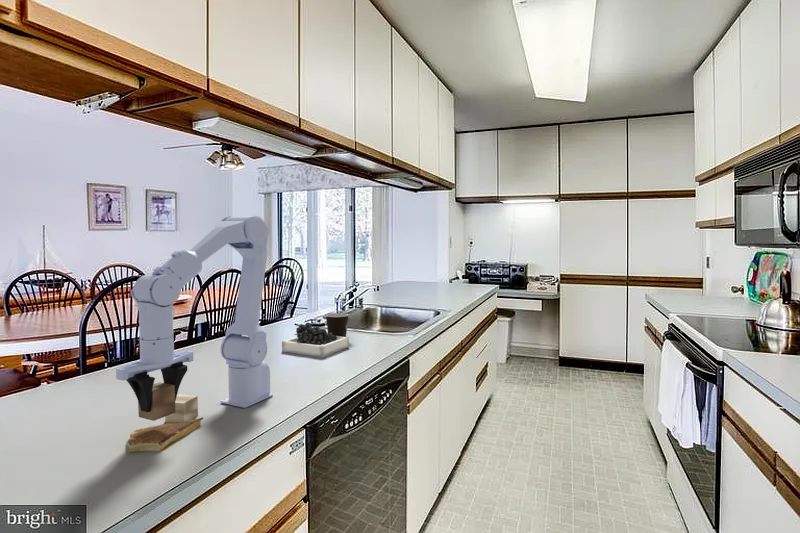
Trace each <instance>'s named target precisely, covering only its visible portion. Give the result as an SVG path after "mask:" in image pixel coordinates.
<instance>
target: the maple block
mask: <svg viewBox="0 0 800 533" xmlns="http://www.w3.org/2000/svg"><path fill="white" fill-rule="evenodd" d="M198 404H199V398H198V395H191V394H177V397H176V401H175V411H176V413H173V414H171V415H168V416H165V417H164V419H165V420H164V422H165V423H168V424H169V423H175V422H183V421H188V420H193V419H196V417H198V416H199V405H198Z"/></svg>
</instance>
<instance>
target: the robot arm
mask: <svg viewBox="0 0 800 533" xmlns="http://www.w3.org/2000/svg"><path fill="white" fill-rule="evenodd" d="M269 229H270V228H269V227H268V225H267V224H266V222H265V221H264V219H263V218H262V217H261V216H258V215H251V216H230V215H229V216H225V217H223V218H222V219H221V220H219V221H217V222H216V223H215V226H214V228H213V229H212V230H211V231H209V232H208V233H207V234H206V235H205V236H204V237H203V238H202V239H201V240H199V242H198V243H196V244H195V245H194V246H193V247H192V248H191V249H190V250H185V249H184V250H179V251H178V250H177V251H173V252H172V253H170V254H171V255H170V256H171V258H169V259H168V260H167V261H166V262H164V263H163V264H162V265H161V266H156V267H155V268H153V272H152V273H151V274H145V275H142V276H140V277H139V278H138V279H137V280H136V281H135V282H134V285H133V288H132V289H131V290H130V295H131V297H132V299H133V301H134V302H136V304H137V311H138V330H139V333H138V334H139V360H137V361H135V362H131V363H129V364H127V365H124V366H121V367H117V368H115V372H116V373H115V376H116V377H115V379H116V380H119V381H126V382H127V383H128V385H129V386H130V387H131V389H132V391H133V392H134V394H135V397H136V399H137V403H138V402H139V405H140V409H141V411H144V412H150V411H151V407H152V389H153V384H155V380H156V378H155V377H154V376H150V374H149V373H151V372H155V371H159V370H160V371H161V374H162V379H163V383H166V384H171V385H175V401H176V397H177V395H178V393H179V388H180V387H181V383H182V381H183V379H184V376H185V375H186V373H187V372H188V365H186V364H184V363H191V362H194V351H191V350H190V351H189V350H185V351H180V352H175V343H174V342H175V341H174V340H175V339H174V338H175V337H174V303H176V302H177V301H178V299H179V297H180V294H181V290H182V289H184V286H186V285H187V284H188V283H189V282H191V281H192V280H193V279H194V278H195V277H196V276H197V275H198V274H200V273H201V272H202V270H203V262H205V261H206V260H208V259H210V258H211V257H212V256H213V255H215V254H216V253H217V252H219V251H220V250H221V249H222V248H224V247H225V246H226V245H229V246H230V247H231V248H232V249H234V250H235V251H237V252H238V253H239V255H240V256H241V258H242V264H241V271H240V279H239V286H238V293H237V303H236V309H235V310H236V311H235V317H234V323H233V324H231V325H230V326H229V327H228V328H226V330H225V334H224V335H225V337H224V338H223V340H222V342H221V344H220V354H221V357H222V358H223V359H224V360H225V364H226V365H227V366H228V367H227V368H228V373H227V375H228V379H227V380H228V396H227V397H226V398H223V399H220V404H221V403H222V404H225V405H230V406H234V407H237V408H242V409H245V408H248V407H250V406H253V405H254V404H257V403H260V402H262V401H263V400H264V401H265V399H268V398H271V397H273V395H274V394H273V392H271V368H270V366H269V363H267V361H266V360H265V359H266V357H267V353H268V343H267V332H266V331H265V330H264V329H263V328H262V327H261V325H260V315H261V308H262V307H261V306H262V297H263V289H264V282H265V277H266V276H265V275H266V274H265V273H266V267H267V266H266V265H267V259H268V247H267V245H268V238H269V237H268V236H269V231H270V230H269Z"/></svg>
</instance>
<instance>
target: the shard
mask: <svg viewBox="0 0 800 533" xmlns="http://www.w3.org/2000/svg"><path fill="white" fill-rule="evenodd" d="M203 420H204V417H201V418H193V419H192V420H188V421H183V422H175V423H169V422H168V423H166V424H165V423H164V424H160V425H153V426H149V427H145V428H139V429H136V430H133V431H132V432H130V434H129V443H128V444H127V445H128V449H129V451H128V452H129V453H134V452H144V451H155V452H159V451H162V450H163V449H165V447H167V446H168V445H170V444H171V443H173V442H175V441H177V440H178V439H181V438H182V437H184V436H186V435H188V434H189V433H192V432H193V431H194V430H196V429H197V428H199V426H201V424H202V423H201V422H202V421H203Z"/></svg>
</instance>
